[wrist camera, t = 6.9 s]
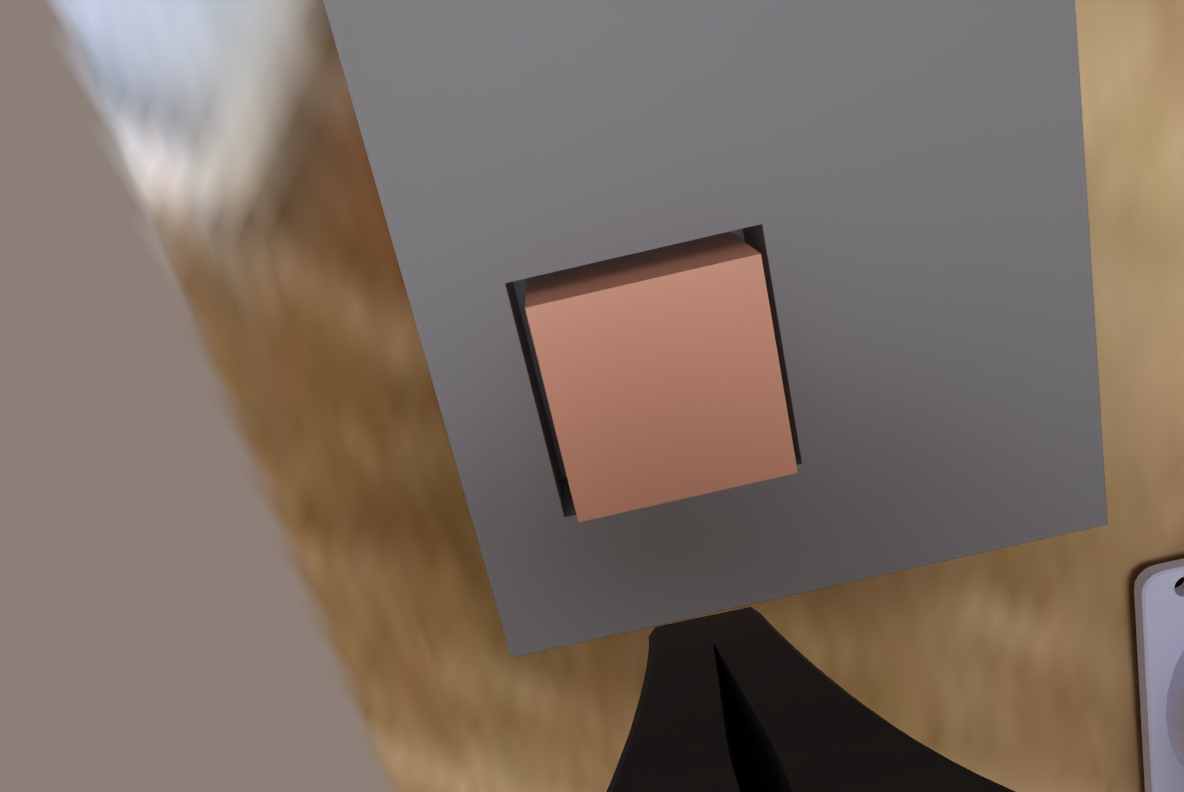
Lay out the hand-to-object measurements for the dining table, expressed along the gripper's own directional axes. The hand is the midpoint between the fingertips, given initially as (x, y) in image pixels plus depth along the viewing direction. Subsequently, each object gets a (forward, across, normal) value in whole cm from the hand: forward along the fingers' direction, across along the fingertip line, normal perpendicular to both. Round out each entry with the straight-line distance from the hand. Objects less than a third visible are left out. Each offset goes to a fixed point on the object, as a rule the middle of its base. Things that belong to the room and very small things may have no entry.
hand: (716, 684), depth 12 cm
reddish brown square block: (+8, 0, -2) cm, 9 cm away
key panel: (+9, -2, -7) cm, 12 cm away
